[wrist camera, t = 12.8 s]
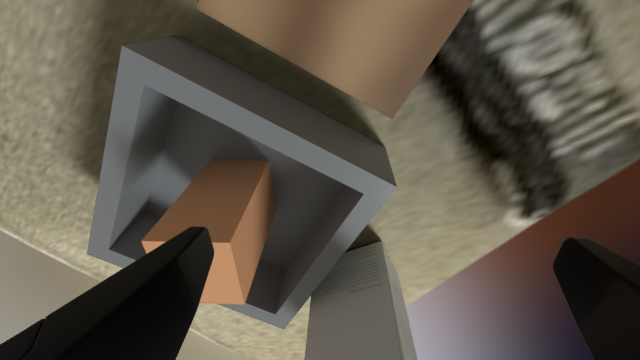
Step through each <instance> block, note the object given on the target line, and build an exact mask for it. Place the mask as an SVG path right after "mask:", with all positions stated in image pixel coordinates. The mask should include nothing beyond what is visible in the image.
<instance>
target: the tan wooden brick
mask: <svg viewBox="0 0 640 360" xmlns="http://www.w3.org/2000/svg"><path fill="white" fill-rule="evenodd" d="M275 211H276V207H275V200H274V192H273V185H272V177H271V169H270V162H269V160H210V161H209V162H208V164H207V165H206V166H205V167H204V168H203V169H202V171H201V172H200V173H199V174H198V175H197V176H196V178H195V179H194V180H193V181H192V182H191V183H190V185H189V186H188V187H187V188H186V189H185V190H184V192H183V193H182V194H181V195H180V196H179V197H178V199H177V200H176V201H175V202H174V203H173V204H172V206H171V207H170V208H169V209H168V210H167V212H166V213H165V214H164V215H163V216H162V217H161V219H160V220H159V221H158V222H157V223H156V224H155V226H154V227H153V228H152V229H151V230H150V231H149V233H148V234H147V235H146V236H145V237H144V238H143V240H142V241H141V242H142V244H143V247H144V249H145V251H146V254H147V253H149V252H151V251H152V250H154V249H155V248H157V247H159V246H160V245H162V244H163V243H165V242H167V241H168V240H170V239H171V238H173V237H175V236H176V235H178V234H179V233H181V232H183V231H184V230H186V229H187V228H189V227H192V226H200V227H206V228H207V229H208V231H209V234H210V237H211V241H212V244H213V248H214V258H213V261H212V264H211V268H210V271H209V274H208V277H207V280H206V283H205V287H204V290H203V293H202V296H201V299H200V302H199V303H216V304H245V302H246V299H247V296H248V293H249V290H250V287H251V284H252V281H253V278H254V275H255V272H256V269H257V266H258V263H259V260H260V256H261V253H262V250H263V247H264V244H265V241H266V238H267V235H268V232H269V229H270V226H271V223H272V220H273V217H274V214H275Z"/></svg>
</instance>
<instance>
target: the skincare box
mask: <svg viewBox="0 0 640 360" xmlns="http://www.w3.org/2000/svg"><path fill="white" fill-rule="evenodd" d="M305 360H417V355H416V351H415V347H414V342H413V338H412V333H411V329H410V324H409V319H408V315H407V311H406V306H405V302H404V298H403V293H402V289H401V285H400V280H399V276H398V274H397V272H396V270H395V268H394V266H393V264H392V262H391V260H390V258H389V256H388V254H387V252H386V249H385V247H384V245H383V243H382V242H376V243H373V244H370V245H367V246H364V247H361V248H358V249H355V250H351V251H348V252H345V253H344V254H343V255H342V257H341V258H340V259H339V260H338V262H337V263H336V264H335V266H334V267H333V268H332V269H331V271H330V272H329V273H328V274H327V276H326V277H325V278H324V279H323V281H322V282H321V283H320V284H319V286H318V287H317V288H316V289H315V291H314V292H313V293H312V295H311V304H310V313H309V323H308V333H307V342H306V352H305Z"/></svg>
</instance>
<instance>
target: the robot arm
mask: <svg viewBox="0 0 640 360" xmlns="http://www.w3.org/2000/svg"><path fill="white" fill-rule="evenodd" d="M213 258H214V248H213V244H212V241H211V237H210V234H209V231H208V229H207V228H206V227H200V226H192V227H189V228H187V229H186V230H184V231H183V232H181V233H179V234H178V235H176V236H175V237H173V238H171V239H170V240H168V241H167V242H165V243H163V244H162V245H160V246H159V247H157V248H155V249H154V250H152V251H151V252H149V253H147V254H146V255H144V256H143V257H141V258H139V259H138V260H136V261H134V262H133V263H131V264H130V265H128V266H126V267H125V268H123V269H122V270H120V271H118V272H117V273H115V274H114V275H112V276H110V277H109V278H107V279H106V280H104V281H102V282H101V283H99V284H98V285H96V286H94V287H93V288H91V289H90V290H88V291H86V292H85V293H83V294H82V295H80V296H78V297H77V298H75V299H74V300H72V301H70V302H69V303H67V304H65V305H64V306H62V307H61V308H59V309H57V310H56V311H54V312H52V313H51V314H49V315H48V316H47V317H46V318H45V319H41V320H40V321H38V322H36V323H35V324H33V325H32V326H30V327H28V328H27V329H25V330H24V331H22V332H20V333H19V334H17V335H15V336H14V337H12V338H10V339H9V340H7V341H5V342H4V343H2V344H0V360H175V359H176V357H177V355H178V353H179V350H180V348H181V346H182V343H183V341H184V339H185V337H186V334H187V332H188V330H189V328H190V325H191V323H192V321H193V318H194V316H195V313H196V311H197V308H198V305H199V302H200V299H201V296H202V293H203V290H204V287H205V283H206V280H207V277H208V274H209V271H210V268H211V264H212V261H213ZM553 270H554V273H555V276H556V278H557V280H558V283H559V285H560V287H561V290H562V292H563V294H564V297H565V299H566V301H567V304H568V306H569V309H570V311H571V313H572V316H573V318H574V320H575V323H576V325H577V327H578V329H579V331H580V333H581V335H582V337H583V339H584V341H585V343H586V345H587V347H588V348H589V350H590V352H591V354H592V356H593V358H594V359H595V360H640V265H639V264H636V263H635V262H633V261H631V260H629V259H627V258H625V257H623V256H621V255H619V254H617V253H615V252H613V251H611V250H610V249H608V248H606V247H604V246H602V245H600V244H598V243H596V242H594V241H592V240H590V239H587V238H567V239H566V240H564V241H563V243H562V245H561V247H560V249H559V252H558V253H557V255H556V257H555V260H554V262H553Z"/></svg>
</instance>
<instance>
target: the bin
mask: <svg viewBox="0 0 640 360" xmlns="http://www.w3.org/2000/svg"><path fill="white" fill-rule="evenodd" d="M210 160H269V162H270V169H271V177H272V185H273V192H274V200H275V207H276V211H275V214H274V217H273V220H272V223H271V226H270V229H269V232H268V235H267V238H266V241H265V244H264V247H263V250H262V253H261V256H260V260H259V263H258V266H257V269H256V272H255V275H254V278H253V281H252V284H251V287H250V290H249V293H248V296H247V299H246V302H245V304H219V305H221V306H224V307H227V308H229V309H232V310H234V311H237V312H240V313H242V314H245V315H248V316H250V317H253V318H255V319H258V320H261V321H263V322H266V323H269V324H271V325H274V326H276V327H279V328H282V329H285V327H286V326H287V325H288V324H289V322H290V321H291V320H292V319H293V317H294V316H295V315H296V313H297V312H298V311H299V310H300V308H301V307H302V306H303V305H304V303H305V302H306V301H307V300H308V298H309V297H310V296H311V295H312V293H313V292H314V291H315V289H316V288H317V287H318V286H319V284H320V283H321V282H322V281H323V279H324V278H325V277H326V276H327V274H328V273H329V272H330V271H331V269H332V268H333V267H334V266H335V264H336V263H337V262H338V260H339V259H340V258H341V257H342V255H343V254H344V253H345V252H346V250H347V249H348V248H349V247H350V245H351V244H352V243H353V242H354V240H355V239H356V238H357V236H358V235H359V234H360V233H361V231H362V230H363V229H364V228H365V226H366V225H367V224H368V223H369V221H370V220H371V219H372V218H373V216H374V215H375V214H376V213H377V211H378V210H379V209H380V207H381V206H382V205H383V204H384V202H385V201H386V200H387V199H388V197H389V196H390V195H391V194H392V192H393V191H394V190H395V189H396V187H397V186H396V183H395V179H394V176H393V172H392V169H391V166H390V162H389V159H388V155H387V152H386V148H385V147H384V146H382V145H380V144H378V143H377V142H375V141H373V140H371V139H369V138H367V137H365V136H364V135H362V134H360V133H358V132H356V131H354V130H352V129H351V128H349V127H347V126H345V125H343V124H341V123H339V122H338V121H336V120H334V119H332V118H330V117H328V116H326V115H325V114H323V113H321V112H319V111H317V110H315V109H313V108H312V107H310V106H308V105H306V104H304V103H302V102H300V101H299V100H297V99H295V98H293V97H291V96H289V95H288V94H286V93H284V92H282V91H280V90H278V89H276V88H275V87H273V86H271V85H269V84H267V83H265V82H263V81H262V80H260V79H258V78H256V77H254V76H252V75H250V74H249V73H247V72H245V71H243V70H241V69H239V68H237V67H236V66H234V65H232V64H230V63H228V62H226V61H224V60H223V59H221V58H219V57H217V56H215V55H213V54H211V53H210V52H208V51H206V50H204V49H202V48H200V47H199V46H197V45H195V44H193V43H191V42H189V41H187V40H186V39H184V38H182V37H180V36H178V35H175V36H170V37H165V38H159V39H154V40H148V41H143V42H137V43H132V44H127V45H122V47H121V53H120V59H119V65H118V71H117V77H116V83H115V89H114V95H113V101H112V107H111V113H110V119H109V125H108V131H107V137H106V143H105V149H104V155H103V161H102V167H101V173H100V179H99V185H98V191H97V197H96V203H95V209H94V215H93V221H92V227H91V233H90V239H89V245H88V251H87V254H88V255H91V256H93V257H96V258H98V259H101V260H104V261H106V262H109V263H111V264H114V265H117V266H119V267H122V268H125V267H126V266H128V265H130V264H131V263H133V262H134V261H136V260H138V259H139V258H141V257H143V256H144V255H146V251H145V249H144V247H143V244H142V242H141V241H142V240H143V238H144V237H145V236H146V235H147V234H148V233H149V231H150V230H151V229H152V228H153V227H154V226H155V224H156V223H157V222H158V221H159V220H160V219H161V217H162V216H163V215H164V214H165V213H166V212H167V210H168V209H169V208H170V207H171V206H172V204H173V203H174V202H175V201H176V200H177V199H178V197H179V196H180V195H181V194H182V193H183V192H184V190H185V189H186V188H187V187H188V186H189V185H190V183H191V182H192V181H193V180H194V179H195V178H196V176H197V175H198V174H199V173H200V172H201V171H202V169H203V168H204V167H205V166H206V165H207V164H208V162H209V161H210Z"/></svg>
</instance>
